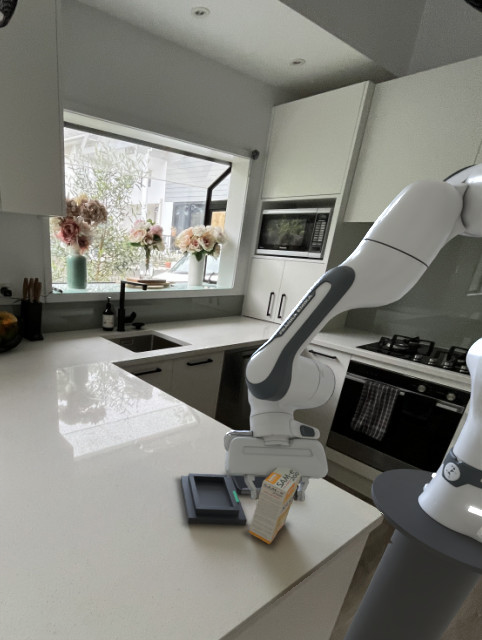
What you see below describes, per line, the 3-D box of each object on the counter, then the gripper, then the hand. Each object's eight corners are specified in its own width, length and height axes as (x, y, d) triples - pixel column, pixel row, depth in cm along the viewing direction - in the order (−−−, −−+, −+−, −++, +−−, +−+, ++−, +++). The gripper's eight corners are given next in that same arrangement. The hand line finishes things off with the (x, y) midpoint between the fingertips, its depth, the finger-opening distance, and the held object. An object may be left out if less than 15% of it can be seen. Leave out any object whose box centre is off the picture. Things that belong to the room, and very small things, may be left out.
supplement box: (270, 546, 73) (287, 492, 67) (247, 533, 75) (262, 480, 70) (286, 523, 79) (302, 473, 73) (264, 512, 81) (279, 462, 75)
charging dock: (230, 482, 90) (232, 472, 89) (245, 525, 78) (248, 514, 76) (180, 480, 89) (181, 470, 88) (187, 523, 77) (189, 512, 76)
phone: (301, 490, 87) (238, 490, 86) (300, 493, 88) (237, 494, 86) (286, 469, 94) (228, 469, 93) (285, 473, 95) (228, 473, 93)
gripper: (227, 425, 75) (230, 496, 71) (327, 430, 76) (336, 500, 72) (219, 433, 81) (222, 499, 76) (312, 437, 82) (320, 502, 77)
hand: (278, 500), depth 74 cm, fingers closed on supplement box, 7 cm apart
